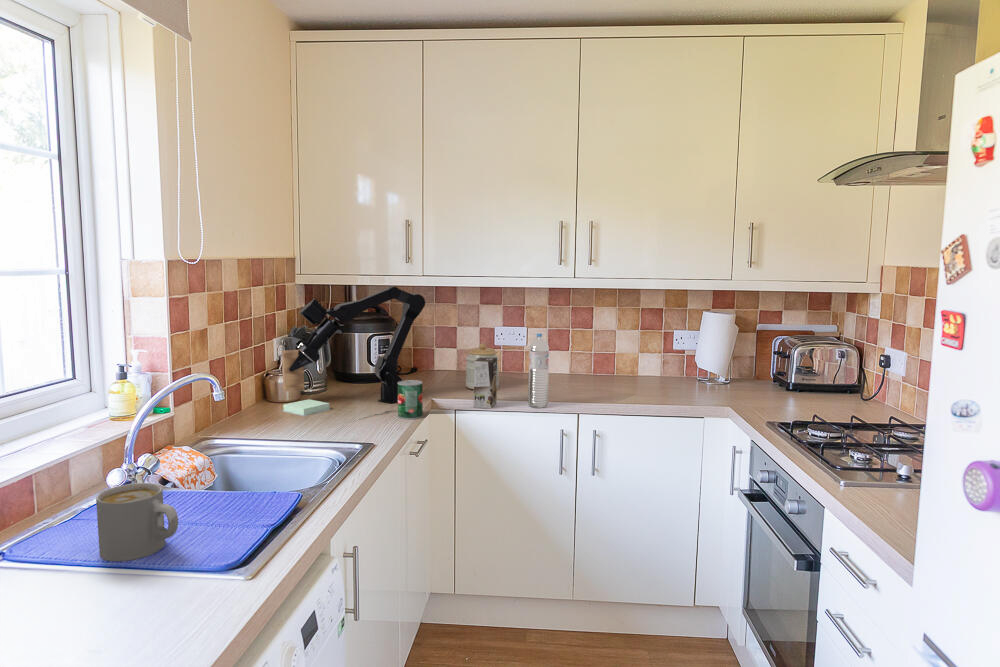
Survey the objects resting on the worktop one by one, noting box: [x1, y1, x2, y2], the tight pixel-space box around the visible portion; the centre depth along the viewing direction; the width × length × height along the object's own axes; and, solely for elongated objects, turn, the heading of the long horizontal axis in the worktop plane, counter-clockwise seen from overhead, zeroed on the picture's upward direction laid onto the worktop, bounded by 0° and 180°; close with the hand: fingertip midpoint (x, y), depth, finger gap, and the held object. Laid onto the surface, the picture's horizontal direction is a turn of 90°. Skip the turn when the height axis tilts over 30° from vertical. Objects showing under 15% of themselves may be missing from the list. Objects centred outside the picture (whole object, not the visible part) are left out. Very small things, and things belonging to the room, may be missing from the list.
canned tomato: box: [397, 379, 424, 420], centre depth 208 cm, size 8×8×11 cm
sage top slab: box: [282, 399, 330, 416], centre depth 210 cm, size 10×10×2 cm
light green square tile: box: [282, 408, 332, 417], centre depth 210 cm, size 11×11×2 cm
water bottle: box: [527, 333, 550, 409], centre depth 224 cm, size 7×7×25 cm
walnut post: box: [281, 349, 305, 392], centre depth 215 cm, size 6×6×12 cm
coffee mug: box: [95, 482, 179, 562], centre depth 113 cm, size 13×10×10 cm
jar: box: [465, 342, 500, 388], centre depth 253 cm, size 13×13×18 cm
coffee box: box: [473, 357, 498, 409], centre depth 224 cm, size 9×6×16 cm
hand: (288, 369), depth 214 cm, fingers closed on walnut post, 6 cm apart
